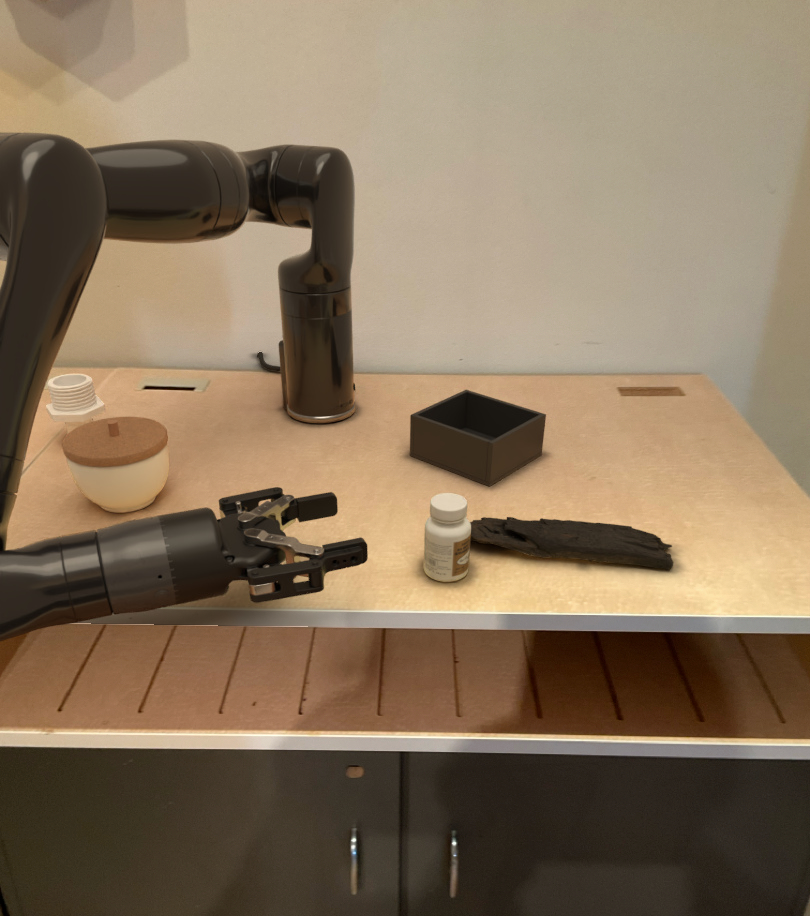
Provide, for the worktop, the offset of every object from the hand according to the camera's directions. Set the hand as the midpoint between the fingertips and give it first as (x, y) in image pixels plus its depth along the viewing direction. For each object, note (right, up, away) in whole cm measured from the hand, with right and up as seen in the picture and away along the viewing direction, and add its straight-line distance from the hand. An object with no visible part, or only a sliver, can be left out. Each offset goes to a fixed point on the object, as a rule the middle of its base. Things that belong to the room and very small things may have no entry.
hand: (350, 525), depth 70 cm
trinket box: (-26, +3, +18) cm, 32 cm away
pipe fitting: (-37, +11, +32) cm, 50 cm away
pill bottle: (+9, -4, +7) cm, 12 cm away
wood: (+21, -2, +11) cm, 24 cm away
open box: (+14, +9, +28) cm, 33 cm away
